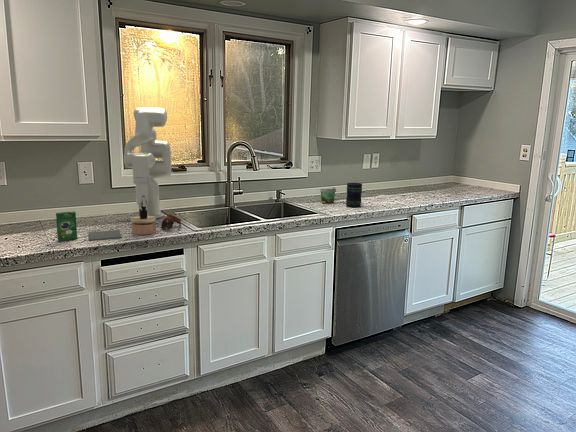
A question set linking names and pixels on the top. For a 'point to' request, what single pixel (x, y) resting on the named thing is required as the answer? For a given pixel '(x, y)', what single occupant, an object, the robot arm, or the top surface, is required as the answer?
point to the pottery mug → (170, 221)
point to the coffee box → (66, 226)
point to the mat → (104, 235)
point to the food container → (327, 196)
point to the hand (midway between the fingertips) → (143, 217)
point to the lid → (143, 221)
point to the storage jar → (354, 195)
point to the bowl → (144, 228)
